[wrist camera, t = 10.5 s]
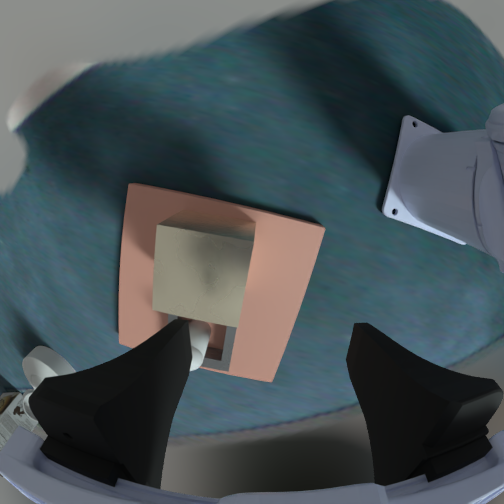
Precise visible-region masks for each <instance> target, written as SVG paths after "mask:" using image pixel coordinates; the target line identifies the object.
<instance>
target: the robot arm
mask: <svg viewBox="0 0 504 504" xmlns="http://www.w3.org/2000/svg"><path fill="white" fill-rule="evenodd" d="M413 122H414V123H415V127H414V126H413V124H412V123H413ZM485 127H486V129H484V130H470V131H459V132H449V133H442V132H440V131H439V130H437V129H435V128H433V127H431V126H429V125H428V124H426V123H424V122H422V121H420V120H418V119H416V118H414V117H412V116H410V115H407V116H404V117H403V119H402V124H401V130H400V135H399V140H398V145H397V149H396V154H395V158H394V163H393V167H392V171H391V175H390V179H389V183H388V187H387V191H386V195H385V198H384V202H383V206H382V213H383V214H384V215H385V216H387V217H390V218H393V219H396V220H399V221H402V222H404V223H407V224H410V225H413V226H416V227H418V228H421V229H424V230H426V231H429V232H432V233H434V234H437V235H439V236H442V237H444V238H447V239H450V240H452V241H454V242H457V243H459V244H462V245H465V244H466V243H467V244H469V245H471V246H473V247H475V248H477V249H479V250H481V251H483V252H485V253H487V254H489V255H491V256H493V257H495V258H496V259H497V261H498V263H499V267H500V271H501V272H503V273H504V104H501V105H499V106H497V107H495V108H494V109H492V111H491V113H490V116H489V119H488V120H487V121H486V124H485ZM393 209H395V210H396V212H395V214H394V215H393V214H392V210H393ZM192 357H193V356H192V348H191V340H190V331H189V321H188V320H181V319H174V320H173V321H171V322H170V323H169V324H167V325H166V326H165V327H163V328H162V329H161V330H159V331H158V332H157V333H155V334H154V335H153V336H151V337H150V338H148V339H147V340H146V341H144V342H142V343H141V344H139V345H138V346H136V347H135V348H133V349H132V350H130V351H128V352H126V353H125V354H123V355H121V356H119V357H117V358H115V359H113V360H110V361H108V362H106V363H103V364H100V365H98V366H95V367H93V368H90V369H86V370H83V371H79V372H75V373H71V374H66V375H60V376H53V377H45V378H44V380H43V381H42V382H41V383H40V384H39V386H38V387H37V388H36V389H35V391H34V392H33V393H32V394H31V395H30V397H29V400H28V403H29V406H30V409H31V411H32V413H33V415H34V416H35V418H36V419H37V421H38V422H39V424H40V425H41V427H42V428H43V430H44V431H45V432H46V434H47V435H48V437H47V438H46V440H45V441H44V440H43V439H42V438H40V437H39V436H38V435H36V434H34V433H32V432H31V431H29V430H27V429H25V428H24V427H22V426H18V427H17V428H16V430H15V431H14V433H13V434H12V435H11V437H10V438H9V440H8V441H7V443H6V444H5V446H4V447H3V449H2V450H1V451H0V474H1V475H2V476H3V477H4V478H5V479H7V480H8V481H9V482H10V483H11V484H12V485H13V486H14V487H16V488H17V489H18V490H19V491H20V492H21V493H23V494H24V495H25V496H26V497H28V498H29V499H31V500H32V501H34V502H35V503H37V504H486V503H487V502H488V501H490V500H492V499H493V498H495V497H496V496H498V495H499V494H500V493H501V492H502V491H504V430H502V431H500V432H499V433H497V434H495V435H494V436H492V437H491V438H490V439H489V440H488V439H487V437H486V435H487V434H488V432H489V431H488V428H487V427H486V424H487V423H488V422H489V420H490V419H491V417H492V416H493V415H494V413H495V412H496V410H497V409H498V407H499V405H500V404H501V401H502V399H503V391H502V389H501V388H500V387H499V386H498V384H497V383H496V382H495V381H494V380H493V379H487V378H480V377H473V376H468V375H465V374H461V373H458V372H454V371H451V370H448V369H446V368H443V367H440V366H438V365H435V364H433V363H431V362H429V361H427V360H425V359H423V358H421V357H419V356H417V355H415V354H414V353H412V352H410V351H409V350H407V349H405V348H404V347H402V346H401V345H399V344H398V343H396V342H395V341H393V340H392V339H391V338H389V337H388V336H386V335H385V334H383V333H382V332H381V331H379V330H378V329H376V328H375V327H373V326H372V325H370V324H369V323H354V328H353V332H352V336H351V341H350V345H349V349H348V353H347V357H346V362H347V367H348V372H349V376H350V379H351V382H352V385H353V387H354V390H355V393H356V395H357V398H358V401H359V403H360V406H361V409H362V411H363V414H364V417H365V421H366V424H367V429H368V433H369V439H370V445H371V451H372V457H373V466H374V476H375V477H374V479H375V483H365V484H355V485H349V486H343V487H337V488H330V489H320V490H310V491H297V492H258V493H257V492H256V493H238V494H234V495H230V496H225V497H223V498H221V499H217V498H208V497H200V496H193V495H187V494H181V493H176V492H170V491H166V490H161V489H160V486H161V478H162V470H163V464H164V458H165V452H166V447H167V442H168V437H169V432H170V428H171V424H172V420H173V417H174V413H175V411H176V408H177V405H178V403H179V400H180V397H181V395H182V392H183V389H184V387H185V384H186V381H187V379H188V376H189V371H190V367H191V362H192Z"/></svg>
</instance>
